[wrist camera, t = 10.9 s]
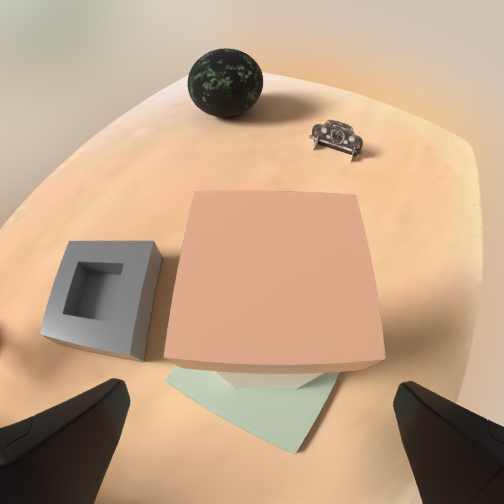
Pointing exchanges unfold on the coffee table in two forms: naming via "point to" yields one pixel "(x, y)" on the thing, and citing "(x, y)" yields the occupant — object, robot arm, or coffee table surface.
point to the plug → (274, 289)
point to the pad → (258, 404)
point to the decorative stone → (225, 82)
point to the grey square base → (104, 297)
